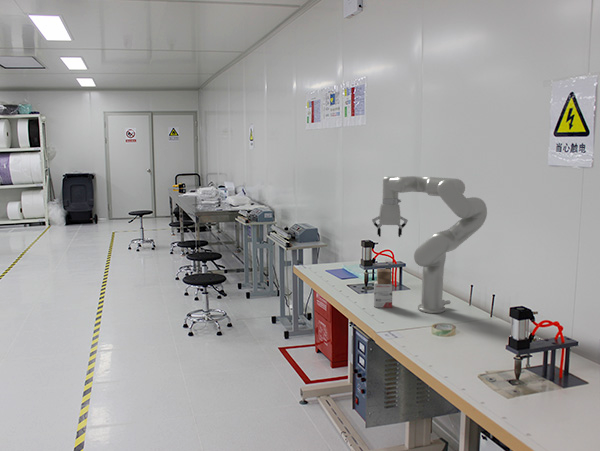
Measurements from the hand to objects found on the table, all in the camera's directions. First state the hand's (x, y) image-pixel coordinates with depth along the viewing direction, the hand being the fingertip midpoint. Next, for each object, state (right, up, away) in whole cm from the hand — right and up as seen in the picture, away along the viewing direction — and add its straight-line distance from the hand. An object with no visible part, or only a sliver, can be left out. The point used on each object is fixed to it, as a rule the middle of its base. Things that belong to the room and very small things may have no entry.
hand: (389, 236), depth 264 cm
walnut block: (-4, -22, -8) cm, 24 cm away
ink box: (-4, -34, -6) cm, 34 cm away
